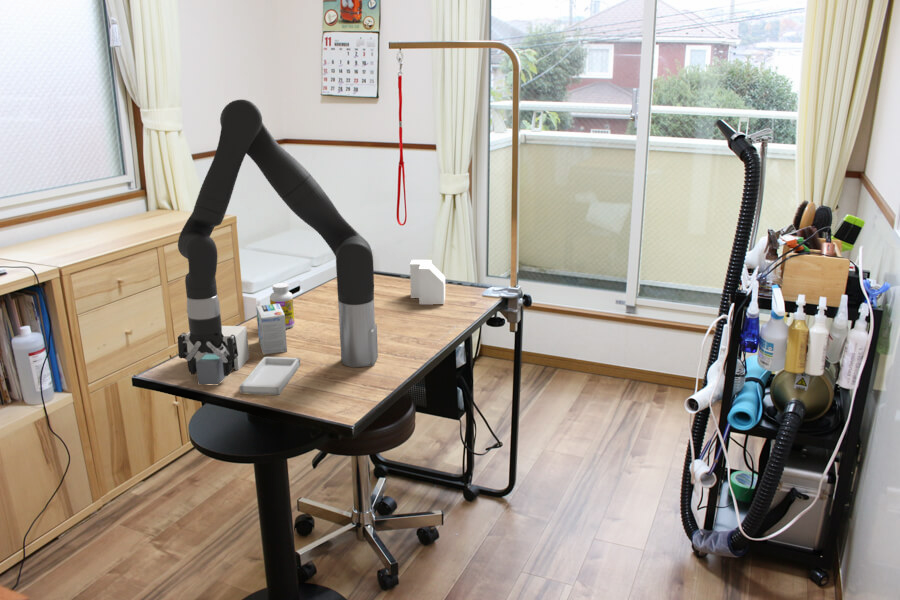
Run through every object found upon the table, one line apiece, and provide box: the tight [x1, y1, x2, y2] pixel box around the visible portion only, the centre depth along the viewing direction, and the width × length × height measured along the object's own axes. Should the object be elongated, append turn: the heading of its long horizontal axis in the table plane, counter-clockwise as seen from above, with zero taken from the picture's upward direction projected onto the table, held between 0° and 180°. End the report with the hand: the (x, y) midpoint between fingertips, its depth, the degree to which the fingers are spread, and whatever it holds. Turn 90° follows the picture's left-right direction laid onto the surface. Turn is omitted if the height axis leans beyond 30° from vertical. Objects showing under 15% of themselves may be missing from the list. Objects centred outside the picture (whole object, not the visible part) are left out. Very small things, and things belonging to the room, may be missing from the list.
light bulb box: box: [255, 304, 288, 355], centre depth 206 cm, size 11×7×11 cm, turn 21°
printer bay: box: [186, 325, 250, 371], centre depth 195 cm, size 14×8×9 cm, turn 85°
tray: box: [239, 356, 301, 396], centre depth 187 cm, size 10×18×2 cm, turn 175°
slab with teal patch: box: [196, 343, 235, 385], centre depth 189 cm, size 5×13×6 cm, turn 175°
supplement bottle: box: [269, 282, 295, 330], centre depth 221 cm, size 7×7×13 cm
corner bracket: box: [409, 259, 446, 305], centre depth 244 cm, size 11×11×12 cm
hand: (210, 374), depth 185 cm, fingers open, 8 cm apart
